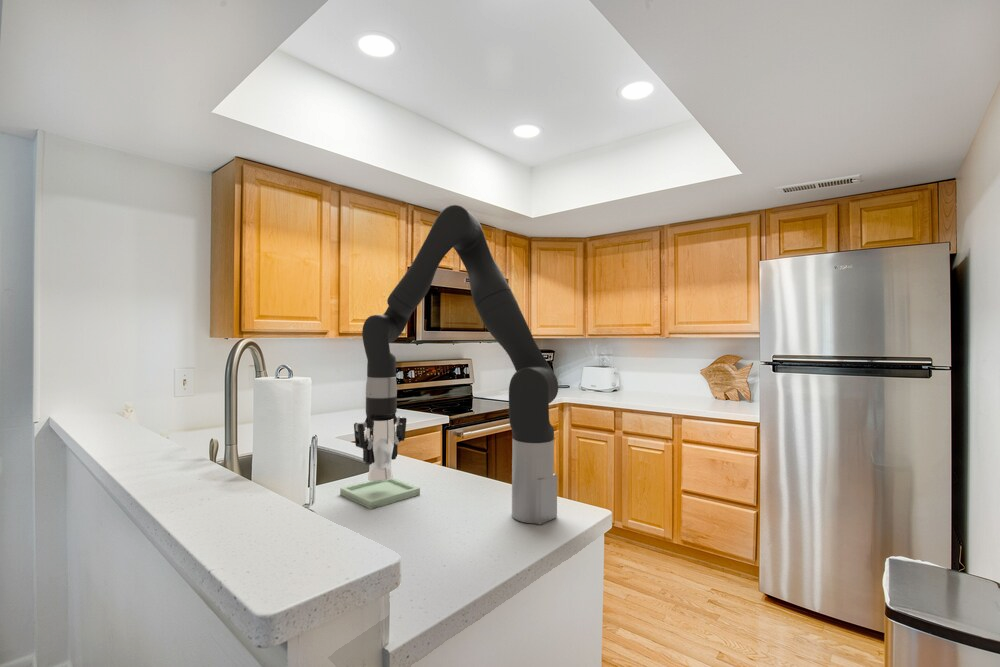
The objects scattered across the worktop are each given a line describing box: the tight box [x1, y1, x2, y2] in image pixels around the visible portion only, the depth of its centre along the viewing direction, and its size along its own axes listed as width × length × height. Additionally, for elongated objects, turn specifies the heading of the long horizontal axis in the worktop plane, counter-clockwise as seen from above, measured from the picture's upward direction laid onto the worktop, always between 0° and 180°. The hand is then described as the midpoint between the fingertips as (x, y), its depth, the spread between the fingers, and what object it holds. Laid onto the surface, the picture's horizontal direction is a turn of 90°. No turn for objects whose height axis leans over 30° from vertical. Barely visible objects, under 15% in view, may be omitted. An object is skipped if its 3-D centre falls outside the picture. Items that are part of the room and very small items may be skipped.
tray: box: [339, 477, 421, 510], centre depth 119 cm, size 14×14×2 cm
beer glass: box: [365, 417, 396, 482], centre depth 119 cm, size 7×7×15 cm
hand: (380, 461), depth 119 cm, fingers closed on beer glass, 6 cm apart
